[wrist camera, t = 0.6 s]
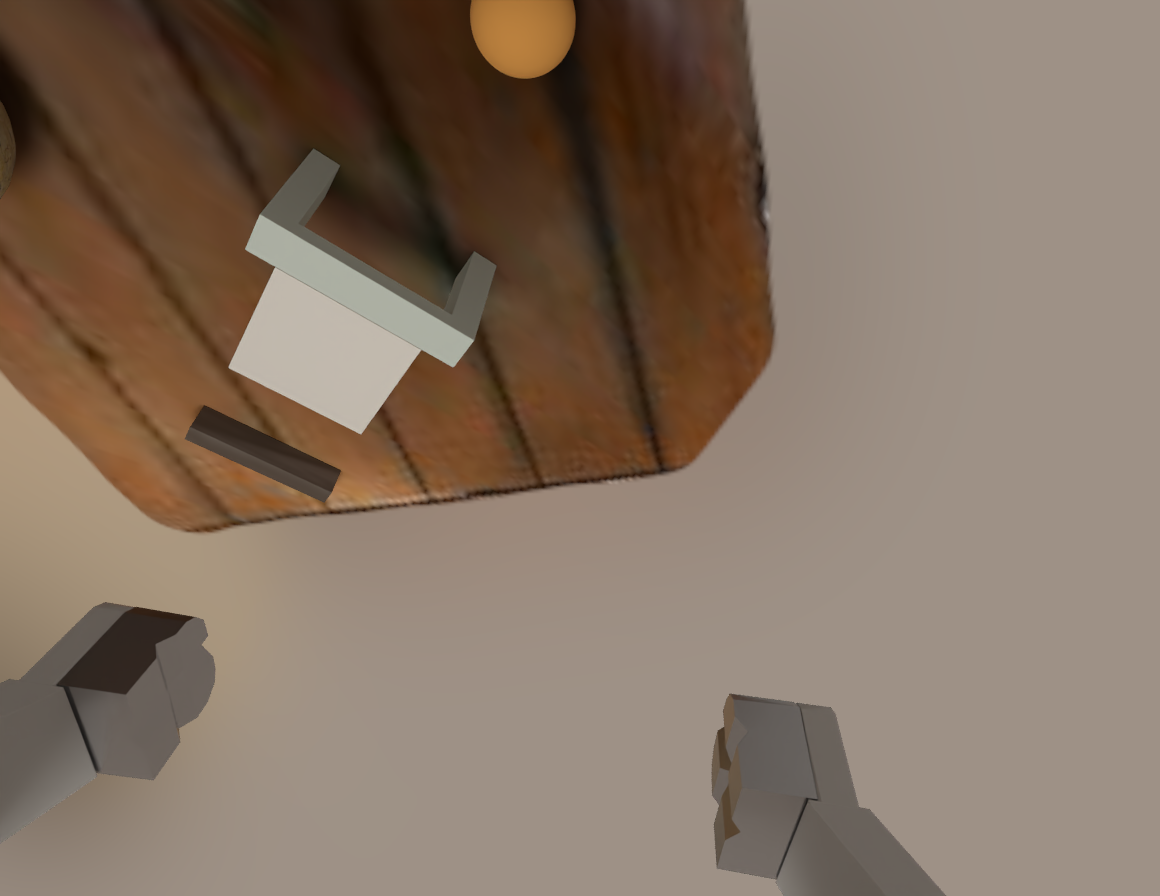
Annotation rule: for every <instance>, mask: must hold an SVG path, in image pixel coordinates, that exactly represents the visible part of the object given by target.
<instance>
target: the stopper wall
mask: <svg viewBox="0 0 1160 896" xmlns="http://www.w3.org/2000/svg"><path fill="white" fill-rule="evenodd" d="M185 439H186V440H188V441H190V442H193V443H195V444H197V445H199V446H201V447H204V448H206V449H208V450H210V451H212V452H214V453H217V454H219V455H221V456H223V457H225V458H228V459H230V460H232V461H234V462H236V463H239V464H241V465H243V466H245V467H247V468H250V469H252V470H254V471H256V472H258V473H261V474H263V475H265V476H267V477H269V478H272V479H274V480H276V481H278V482H280V483H282V484H285V485H287V486H289V487H291V488H293V489H296V490H298V491H300V492H302V493H304V494H307V495H309V496H311V497H313V498H315V499H318V500H320V501H322V502H325V501H326V500H327V498H328V497H329V495H330V494H331V493H332V491H333V488H334V486H335V483H336V481H337V479H338V476H339V474H340V472H341V470H338V469H336V468H334V467H332V466H330V465H328V464H326V463H324V462H322V461H320V460H317V459H315V458H313V457H311V456H309V455H307V454H305V453H303V452H301V451H299V450H297V449H294V448H292V447H290V446H288V445H286V444H284V443H282V442H280V441H278V440H276V439H273V438H271V437H269V436H267V435H265V434H263V433H261V432H259V431H257V430H255V429H253V428H250V427H248V426H246V425H244V424H242V423H240V422H238V421H236V420H234V419H232V418H229V417H227V416H225V415H223V414H221V413H219V412H217V411H215V410H213V409H211V408H209V407H206V406H204V407H203V408H202V410H201V411H200V413H199V414H198V416H197V417H196V419H195V420H194V422H193V423H192V425H191V426H190V428H189V431H188V433H187V435H186V437H185Z"/></svg>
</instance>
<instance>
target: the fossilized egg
mask: <svg viewBox="0 0 1160 896" xmlns="http://www.w3.org/2000/svg"><path fill="white" fill-rule="evenodd" d="M15 160H16V145H15V139H14V135H13V131H12V127H11V123H10V119H9V117H8V115H7V112H6V110H5V108H4V106H3V104H2V102H1V101H0V199H1V197H2V196H3V194H4V193H5V191H6V190H7V188H8V187H9V184H10V181H11V177H12V174H13V170H14V166H15Z"/></svg>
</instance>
